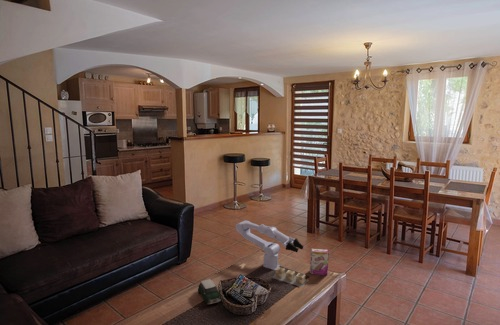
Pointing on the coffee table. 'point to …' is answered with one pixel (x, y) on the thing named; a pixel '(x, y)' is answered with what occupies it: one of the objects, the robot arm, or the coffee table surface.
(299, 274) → the block two
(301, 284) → the mat
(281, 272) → the block one
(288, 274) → the plain block
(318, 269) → the candy bar box
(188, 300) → the coffee table surface
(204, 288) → the miniature car
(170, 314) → the coffee table surface
